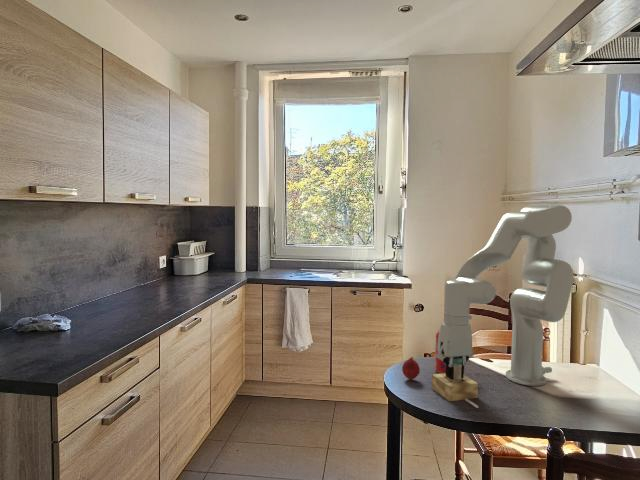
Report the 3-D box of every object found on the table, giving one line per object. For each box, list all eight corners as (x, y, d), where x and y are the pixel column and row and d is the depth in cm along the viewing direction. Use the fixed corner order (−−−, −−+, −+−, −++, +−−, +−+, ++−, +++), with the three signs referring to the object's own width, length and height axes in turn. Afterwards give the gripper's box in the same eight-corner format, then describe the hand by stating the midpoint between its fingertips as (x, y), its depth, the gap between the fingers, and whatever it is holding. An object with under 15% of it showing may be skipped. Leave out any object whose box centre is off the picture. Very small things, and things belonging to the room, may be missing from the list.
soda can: (435, 367, 154) (437, 327, 153) (458, 370, 151) (459, 329, 150) (433, 374, 147) (434, 332, 146) (456, 377, 144) (458, 335, 143)
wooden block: (457, 384, 138) (458, 371, 137) (477, 397, 128) (478, 383, 128) (431, 388, 135) (431, 374, 134) (449, 401, 125) (450, 386, 125)
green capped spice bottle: (455, 389, 133) (456, 355, 133) (460, 392, 130) (461, 358, 130) (447, 390, 132) (448, 356, 132) (452, 393, 130) (453, 359, 129)
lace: (464, 400, 125) (464, 398, 125) (467, 400, 126) (467, 398, 126) (476, 408, 120) (476, 406, 120) (478, 408, 121) (479, 405, 121)
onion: (419, 384, 138) (420, 360, 137) (401, 382, 139) (402, 359, 139) (419, 377, 144) (419, 354, 143) (402, 376, 145) (402, 353, 144)
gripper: (470, 315, 136) (468, 370, 137) (427, 318, 131) (425, 375, 132) (486, 321, 129) (484, 379, 130) (440, 324, 124) (438, 384, 125)
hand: (454, 376), depth 131 cm, fingers closed on green capped spice bottle, 3 cm apart
